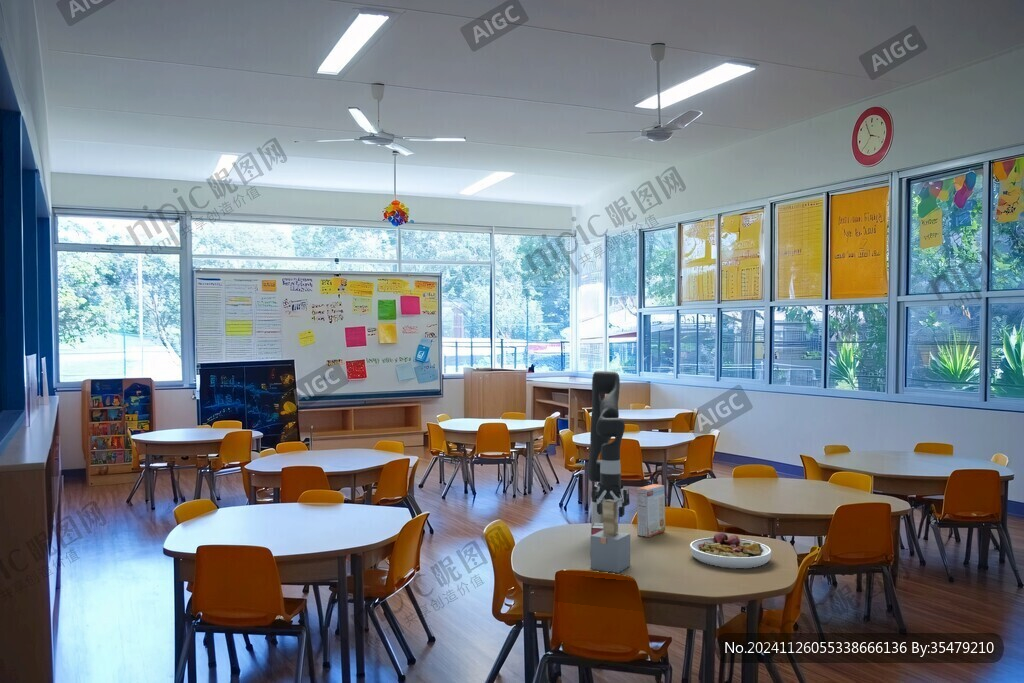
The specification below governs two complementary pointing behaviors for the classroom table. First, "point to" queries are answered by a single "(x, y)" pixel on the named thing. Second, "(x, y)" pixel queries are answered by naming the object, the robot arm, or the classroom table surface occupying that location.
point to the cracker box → (650, 510)
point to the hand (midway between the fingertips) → (610, 515)
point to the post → (610, 518)
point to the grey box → (610, 552)
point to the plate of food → (730, 551)
